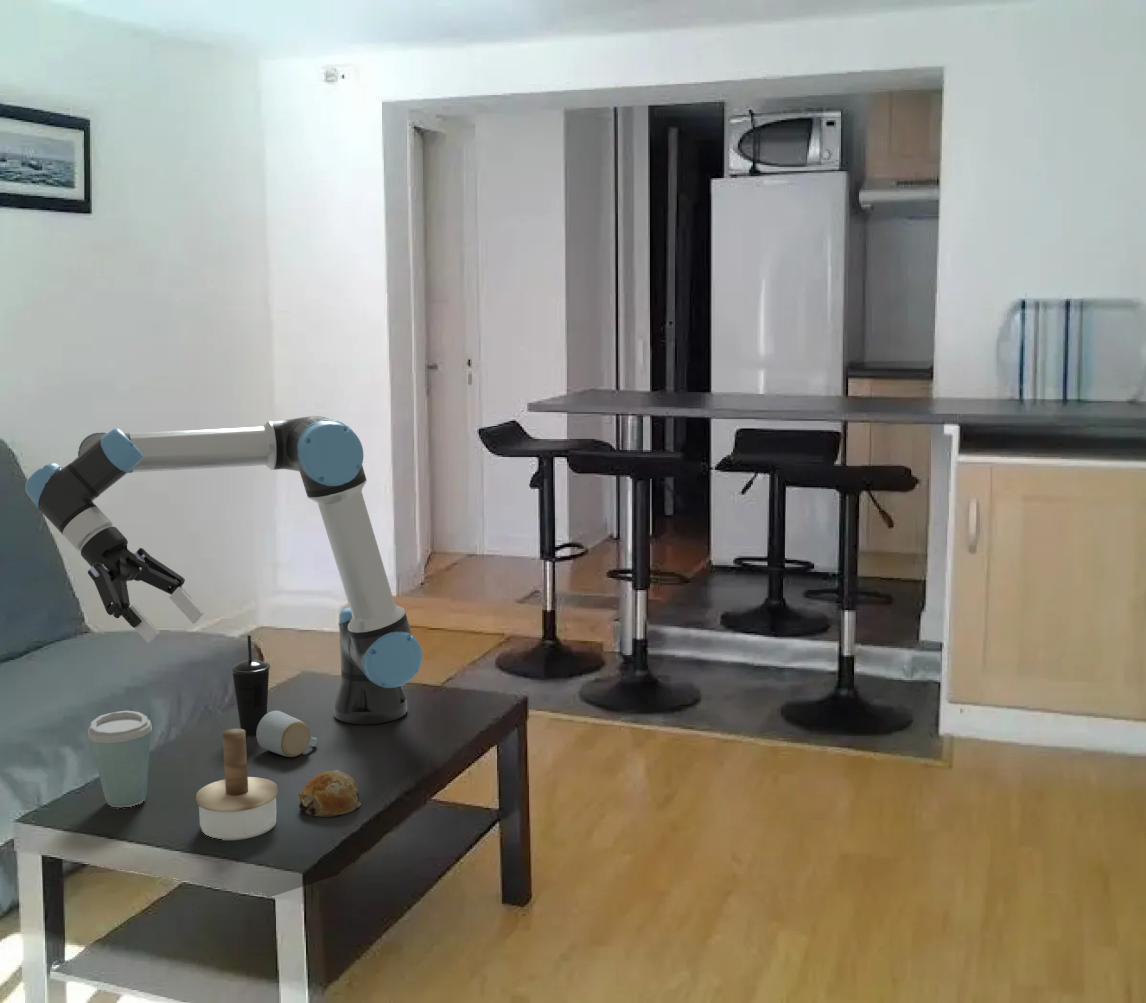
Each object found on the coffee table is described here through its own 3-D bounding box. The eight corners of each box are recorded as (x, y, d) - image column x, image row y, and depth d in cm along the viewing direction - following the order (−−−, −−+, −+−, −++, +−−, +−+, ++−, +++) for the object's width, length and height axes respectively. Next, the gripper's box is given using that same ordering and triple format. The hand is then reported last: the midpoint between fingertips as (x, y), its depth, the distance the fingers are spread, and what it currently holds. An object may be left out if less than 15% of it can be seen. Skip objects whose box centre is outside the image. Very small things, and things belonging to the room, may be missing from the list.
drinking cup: (279, 727, 258) (274, 631, 255) (264, 739, 251) (259, 641, 248) (244, 725, 260) (239, 630, 256) (227, 737, 252) (222, 640, 249)
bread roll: (353, 836, 214) (372, 793, 214) (296, 818, 211) (315, 774, 211) (346, 813, 224) (364, 772, 223) (291, 796, 220) (310, 754, 220)
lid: (256, 775, 218) (253, 714, 217) (291, 797, 209) (288, 733, 207) (183, 794, 210) (179, 730, 209) (216, 818, 200) (212, 752, 199)
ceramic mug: (283, 763, 238) (282, 724, 237) (256, 754, 243) (254, 715, 242) (327, 748, 246) (326, 710, 245) (299, 740, 251) (298, 702, 250)
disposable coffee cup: (164, 805, 218) (159, 722, 216) (99, 819, 213) (93, 733, 210) (148, 786, 227) (143, 705, 225) (85, 798, 222) (79, 716, 219)
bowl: (256, 804, 218) (255, 777, 218) (288, 826, 209) (287, 798, 208) (189, 823, 211) (187, 794, 210) (219, 846, 202) (218, 817, 201)
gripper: (127, 540, 235) (203, 624, 233) (37, 567, 211) (120, 661, 210) (150, 513, 233) (227, 597, 231) (62, 537, 209) (147, 632, 207)
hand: (177, 628), depth 220 cm, fingers open, 13 cm apart
